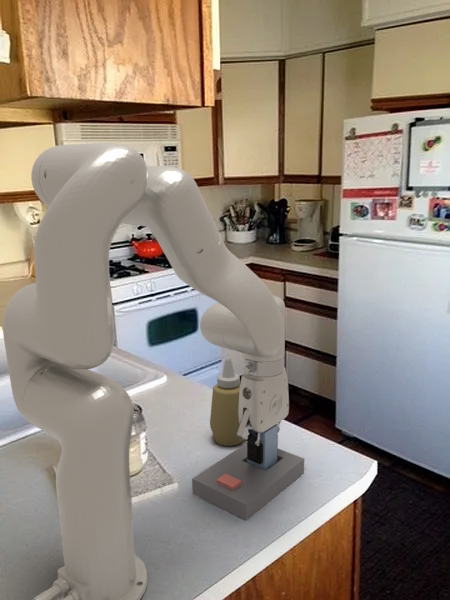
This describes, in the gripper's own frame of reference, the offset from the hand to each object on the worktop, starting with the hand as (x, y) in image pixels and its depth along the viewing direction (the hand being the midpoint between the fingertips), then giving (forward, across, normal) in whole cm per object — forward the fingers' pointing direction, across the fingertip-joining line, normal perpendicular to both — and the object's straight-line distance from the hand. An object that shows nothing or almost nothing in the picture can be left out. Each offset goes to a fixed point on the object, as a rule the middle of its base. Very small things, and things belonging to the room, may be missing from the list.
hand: (262, 455), depth 103 cm
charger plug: (+2, 0, 0) cm, 2 cm away
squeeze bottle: (+4, +6, +13) cm, 15 cm away
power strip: (+4, -4, 0) cm, 6 cm away
